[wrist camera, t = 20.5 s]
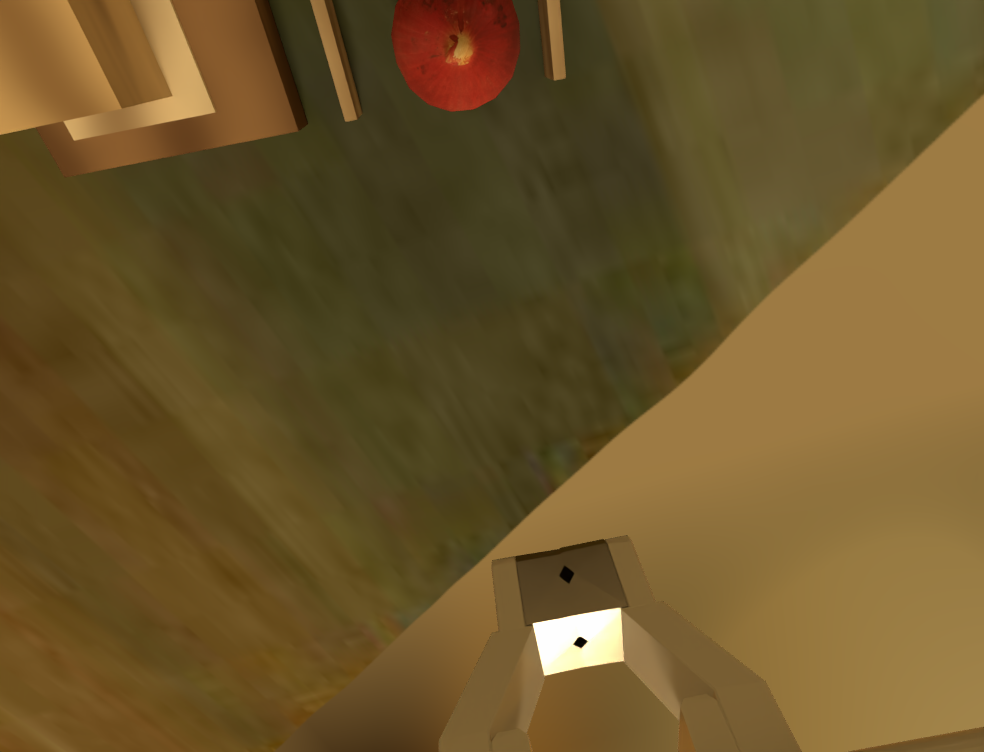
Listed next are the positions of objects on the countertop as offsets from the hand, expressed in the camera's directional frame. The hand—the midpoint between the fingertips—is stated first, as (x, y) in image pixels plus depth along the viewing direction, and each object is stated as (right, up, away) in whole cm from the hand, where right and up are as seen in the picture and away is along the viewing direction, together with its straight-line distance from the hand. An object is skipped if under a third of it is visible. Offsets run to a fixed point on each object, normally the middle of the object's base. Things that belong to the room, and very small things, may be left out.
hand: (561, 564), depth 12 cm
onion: (-4, +22, +16) cm, 27 cm away
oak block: (-20, +19, +12) cm, 30 cm away
